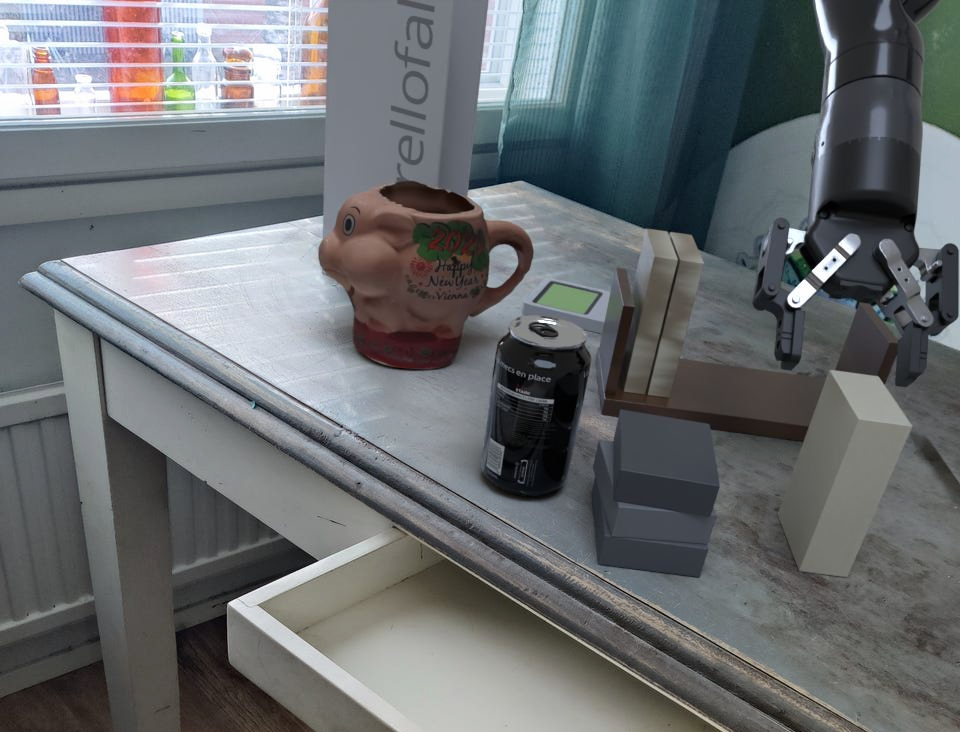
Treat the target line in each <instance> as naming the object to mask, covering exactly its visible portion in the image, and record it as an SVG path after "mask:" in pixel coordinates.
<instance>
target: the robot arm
mask: <svg viewBox="0 0 960 732" xmlns="http://www.w3.org/2000/svg"><path fill="white" fill-rule="evenodd" d="M941 1H942V0H812V5H813V10H814V17H815V23H816V29H817V35H818V40H819V44H820V48H821V53H822V56H823V61H824V69H823V78H822V87H821V99H820V111H819V119H818V123H817V127H816V131H815V134H814V135H815V136H814V142H813V150H812V152H811V157H810V164H811V165H810V166H811V175H810V186H809V187H810V189H809V197H808V198H809V199H808V212H807V222H806V223H807V228H806V230H802V229H798V228H793V227H791V225H790V222H789V221H788V219H786V218H785V217H777V218H775V220H774V221H773V223H772V224H771V226H770V227H769V228H768V230H767V231H766V233H765V235H764V236H763V238H762V239H761V244H760V249H759V250H760V251H759V257H758V263H757V264H758V265H757V270H756V276H755V283H754V289H753V295H752V302H751V304H752V307H753V308H754V309H755V310H757V311H760V312H762V311H766V312H769V313H770V314H772V315H773V316H774V317H775V320H776V329H775V338H774V339H775V341H774V350H773V354H774V358H775V361H776V362H780V369H781V370H784V371H789V372H790V371H791V372H792V371H793V370H794V369H795V368H796V367H797V366H798V365H799V363H800V362H801V360H802V355H803V344H804V343H803V342H804V333H805V332H804V330H805V317H806V311H805V310H802V308H804V306H806V305H807V304H808V303H809V302H810V300H812V299H813V298H814V297H815V296H816V295H817V294H818V293H819V292H820V290H822V291H823V293H825V294H827V295H828V299H832V300H833V299H834V300H846V299H851V300H853V301H855V302H857V303H860V302H861V303H868V304H871V303H872V302H875V304H876V306H877V307H878V309H879V310H880V312H881V313H882V315H883V316H884V317H885V318H889V319H890V320H891V321H892V323H893V325H894V326H895V327H896V329H897V331H898V332H899V334H900V335H901V337H900V338H899V339H898V348H897V356H896V360H895V361H896V364H895V365H896V366H895V377H894V385H895V386H896V387H900V388H908V387H909V386H910V385H912V384H913V383H914V382H915V381H917V379H918V378H919V377H920V376H922V375H923V374H924V373H925V371H926V369H927V366H928V365H927V364H928V360H927V359H928V349H929V336H931V337H936V336H939V335H940V334H941V333H942V332H943V331H945V329H947V328H948V327H949V326H950V325H952V324H953V323H955V322H956V321H957V320H958V318H959V315H960V314H959V313H960V311H959V307H960V305H959V304H960V302H959V299H960V297H959V296H960V291H959V290H960V289H959V288H960V287H959V286H960V280H959V279H960V275H959V273H960V272H959V271H960V252H959V251H960V250H959V248H958V246H957V245H956V244H954V243H953V242H948V243H945V244H944V245H943V246H942V247H941V248H939V249H938V248H927V247H920V246H919V243H918V241H917V239H916V236H915V228H916V224H917V218H918V209H919V194H920V193H919V192H920V181H921V180H920V178H921V166H922V165H921V164H922V163H921V162H922V151H923V150H922V149H923V137H924V136H923V135H924V125H923V123H924V122H923V115H922V113H923V112H922V98H923V83H924V69H925V44H924V38H923V35H922V33H921V31H920V28H919V27H918V24H919V23H921V22H922V21H923V20H924V19H925V18H927V16H928V15H929V14H931V13H932V12H933V11H934V9H936V7H937V6H938V5H939V3H940V2H941ZM795 250H798V251H799V254H800V256H801V258H802V259H803V261H804V263H805V265H806V267H807V268H808V270H809V271H810V272H809V273H808V274H807V276H806V277H805V278H803V280H802V281H801V282H799V284H798V285H797V286H796V287H795V288H794V289H793V290H792V291H788V290H786V289H785V288H782V287H781V285H782V280H783V273H784V266H785V261H786V260H788V259H789V258H790V256H791V255H792V254H793V252H794V251H795ZM913 266H914V267H915V268H917V269H918V271H919V275H920V277H919V279H920V281H921V282H925V293H924V294H925V301H924V299H923V298H922V295H921V292H922V288H921V285H920V284H919V283H918V281H917V280H916V278H915V276H914V275H913V273H912V272H911V270H910V269H911V268H912V267H913ZM894 287H895V288H896V290H897V291H896V292H897V295H896V296H895V295H894V293H893V291H892V289H893V288H894Z"/></svg>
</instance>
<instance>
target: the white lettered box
mask: <svg viewBox="0 0 960 732" xmlns="http://www.w3.org/2000/svg"><path fill="white" fill-rule="evenodd" d="M489 1H490V0H327V35H326V36H327V39H326V42H327V43H326V79H325V81H326V82H325V83H326V84H325V85H326V86H325V122H324V124H325V125H324V126H325V129H324V164H323V165H324V171H323V213H322V214H323V215H322V240H323V239H324V238H325V237H326V236H327V235H328V234H329V233H330V232H331V231H332V230H333V228H334V227H335V224H336V219H337V215H338V212H339V210H340V209H341V207H342V205H343V204H344V202H345V201H346V200H347V199H348V198H349V197H351V196H353V195H355V194H358V193H361V192H365V191H368V190H370V189H371V188H373V187H375V186H379V185H385V184H390V183H396V182H402V181H416V182H418V183H421V184H425V185H428V186H432V187H437V188H442V189H446V190H450V191H452V192H454V193H457V194H460V195H464V196H467V197H469V196H468V195H469V184H470V176H471V167H472V158H473V148H474V139H475V129H476V122H477V112H478V102H479V95H480V94H479V93H480V83H481V76H482V66H483V57H484V55H483V54H484V49H485V48H484V47H485V37H486V30H487V29H486V28H487V19H488V10H489ZM323 273H325V274H324V275H326V274H327V273H326V272H325V271H324V270H323V269H322V268H321V274H323ZM326 276H328V274H327V275H326Z"/></svg>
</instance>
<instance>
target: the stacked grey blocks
mask: <svg viewBox="0 0 960 732" xmlns="http://www.w3.org/2000/svg"><path fill="white" fill-rule="evenodd" d="M617 417H618V418H617V421H616V422H617V423H616V426H615V431H614V435H613V440H607V439H605V440H604V439H598V442H597V447H596V451H595V456H594V459H593V460H594V461H593V464H592V470H593V473H594V479H593V485H592V489H591V500H592V501H591V502H592V503H591V504H592V511H593V512H592V513H593V524H594V533H595V544H596V545H595V546H596V554H597V564H598V565H600V566H610V567H617V568H622V569H623V568H624V569H631V570H641V571H646V572H647V571H648V572H654V573H655V572H656V573H662V574H663V573H664V574H671V575H679V576H686V577H693V578H694V577H695V578H700V577H701V575H702V571H703V568H704V565H705V562H706V559H707V555H708V552H709V546H708V544H709V543H710V538H711V535H712V532H713V529H714V526H715V523H716V520H717V516H718V514H717V512H716V509H715V503H716V500H717V497H718V495H719V490H720V488H721V485H720V484H721V483H720V477H719V472H718V468H717V460H716V457H715V456H716V455H715V454H716V453H715V448H714V443H713V436H712V431H711V430H712V429H710V424H706V423H700V422H694V421H688V420H682V419H676V418H670V417H664V416H657V415H651V414H645V413H639V412H633V411H627V410H620V413H619V416H617Z"/></svg>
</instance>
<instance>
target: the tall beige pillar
mask: <svg viewBox="0 0 960 732" xmlns="http://www.w3.org/2000/svg"><path fill="white" fill-rule="evenodd" d="M825 379H826V381H825V384H824V386H823V389H822V392H821V395H820V398H819V400H818V403H817V406H816V409H815V411H814V414H813V417H812V420H811V423H810V425H809V428H808V431H807V434H806V436H805V439H804V441H802V445H801V448H800V450H799V453H798V456H797V459H796V461H795V463H794V464H795V465H794V466H793V467H794V468H793V469H792V473H791V475H790V478H789V481H788V484H787V486H786V490H785V493H784V495H783V498H782V500H781V503H780V506H779V509H778V511H777V517H778V519H779V522H780V525H781V527H782V530H783V533H784V535H785V539H786V540H787V544H788V546H789V548H790V551H791V554H792V556H793V560H794V562H795V564H796V567H797V570H798V572H801V573H802V572H803V573H810V574H818V575H826V576H833V577H842V578H848V577H849V574H850V572H851V570H852V568H853V566H854V563H855V560H856V558H857V556H858V553H859V551H860V549H861V547H862V544H863V543H864V540H865V537H866V535H867V533H868V530H869V529H870V526H871V524H872V522H873V519H874V517H875V514H876V512H877V509H878V507H879V505H880V503H881V500H882V498H883V495H884V493H885V491H886V489H887V486H888V484H889V482H890V480H891V477H892V474H893V473H894V470H895V468H896V465H897V463H898V461H899V458H900V456H901V453H902V452H903V450H904V448H905V447H904V446H905V444H906V442H907V440H908V438H909V435H910V433H911V431H912V428H913V424H912V423H911V422H910V421H909V419H908V417H907V416H906V414H905V413H904V411H903V409H902V408H901V407H900V405H899V404H898V403H897V401H896V400H895V398H894V397H893V395H892V394H891V393H890V391H889V389H888V388H887V387H886V384H885V385H884V384H883V382H882V381H881V379H880V378H879V377H878V376H872V375H864V374H857V373H850V372H843V371H835V369H829V370H828V372H827V376H826V378H825Z"/></svg>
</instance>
